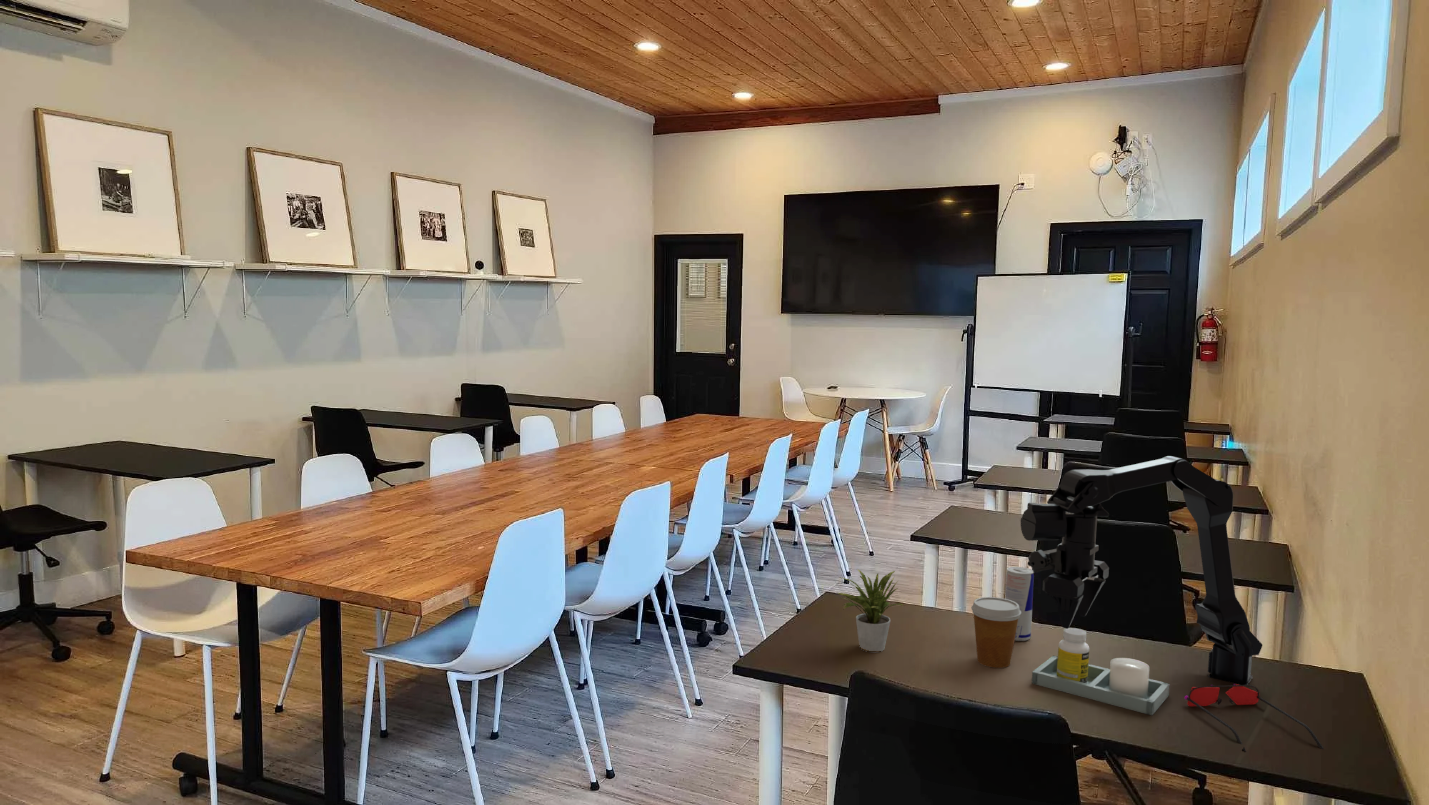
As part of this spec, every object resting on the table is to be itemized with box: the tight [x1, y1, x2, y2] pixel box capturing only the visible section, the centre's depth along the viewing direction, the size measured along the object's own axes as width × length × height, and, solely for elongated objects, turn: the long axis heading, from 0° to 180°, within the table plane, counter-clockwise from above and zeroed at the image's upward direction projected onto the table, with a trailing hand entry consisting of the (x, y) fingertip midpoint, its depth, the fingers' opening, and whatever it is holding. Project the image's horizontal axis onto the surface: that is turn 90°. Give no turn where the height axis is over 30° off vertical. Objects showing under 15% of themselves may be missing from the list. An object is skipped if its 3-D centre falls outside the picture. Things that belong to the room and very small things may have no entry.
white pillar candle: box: [1109, 657, 1150, 699], centre depth 168 cm, size 6×6×6 cm
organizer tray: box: [1031, 655, 1170, 716], centre depth 172 cm, size 21×11×3 cm, turn 50°
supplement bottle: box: [1057, 627, 1090, 684], centre depth 175 cm, size 5×5×10 cm
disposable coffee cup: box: [971, 596, 1021, 669], centre depth 186 cm, size 10×10×12 cm
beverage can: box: [1004, 566, 1035, 642], centre depth 200 cm, size 6×6×15 cm
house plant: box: [837, 568, 903, 652], centre depth 194 cm, size 14×14×16 cm
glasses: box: [1184, 683, 1324, 753], centre depth 158 cm, size 14×16×5 cm
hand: (1074, 621), depth 174 cm, fingers open, 9 cm apart
